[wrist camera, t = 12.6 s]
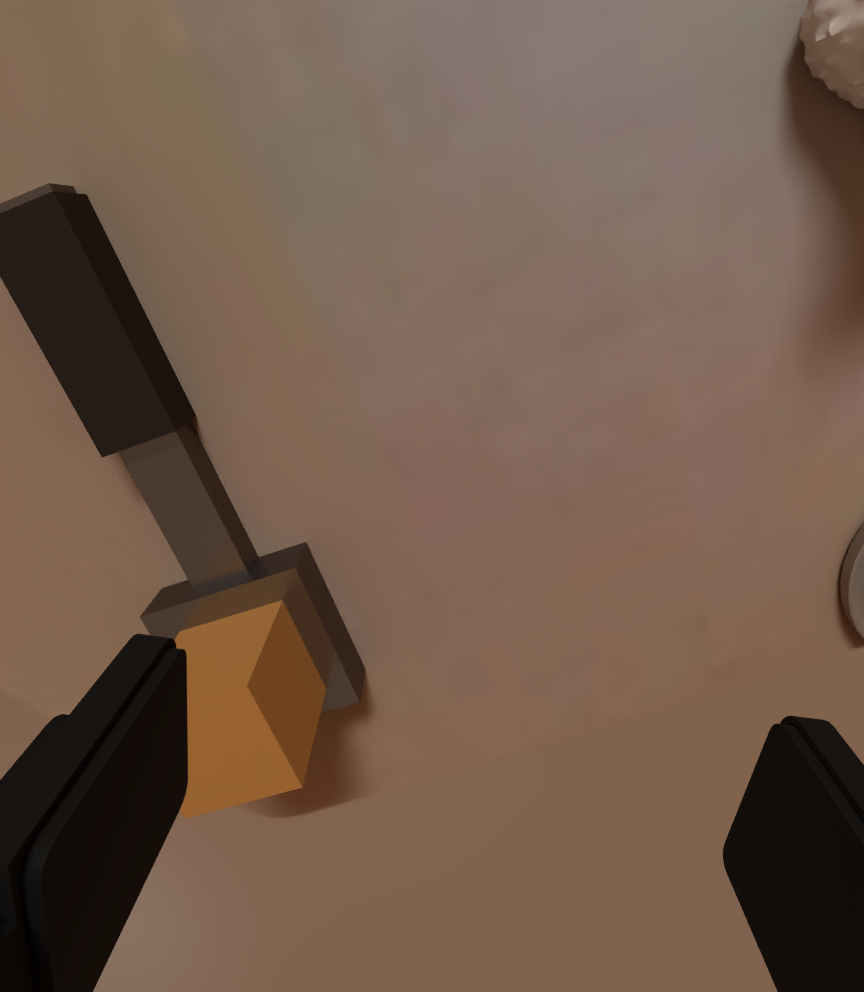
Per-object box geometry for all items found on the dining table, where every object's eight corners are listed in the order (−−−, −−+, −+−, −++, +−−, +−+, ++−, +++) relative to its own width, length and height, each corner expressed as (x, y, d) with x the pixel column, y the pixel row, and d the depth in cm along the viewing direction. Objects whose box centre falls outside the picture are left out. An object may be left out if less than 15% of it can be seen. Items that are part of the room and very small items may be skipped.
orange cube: (282, 600, 35) (246, 685, 28) (326, 688, 37) (302, 787, 30) (180, 631, 35) (121, 721, 29) (228, 716, 37) (184, 818, 31)
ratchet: (365, 669, 40) (353, 740, 34) (230, 708, 41) (197, 783, 35) (129, 162, 30) (58, 146, 24) (-42, 233, 31) (-147, 234, 25)
